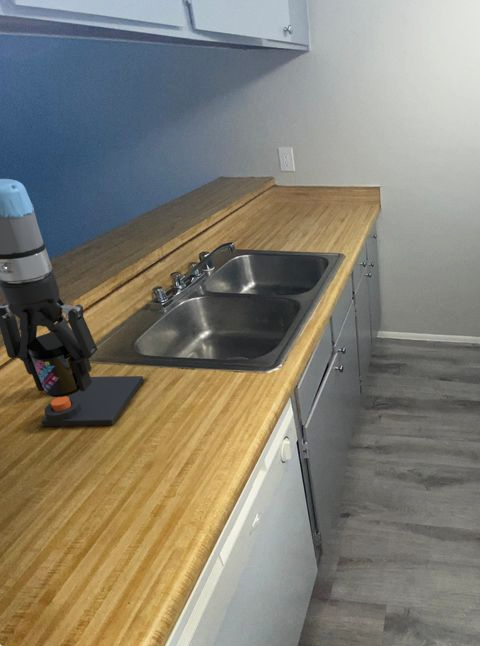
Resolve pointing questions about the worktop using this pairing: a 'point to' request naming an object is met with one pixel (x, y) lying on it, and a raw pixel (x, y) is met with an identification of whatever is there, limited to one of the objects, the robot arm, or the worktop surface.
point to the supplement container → (53, 365)
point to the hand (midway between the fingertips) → (65, 386)
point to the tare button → (61, 403)
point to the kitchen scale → (96, 402)
